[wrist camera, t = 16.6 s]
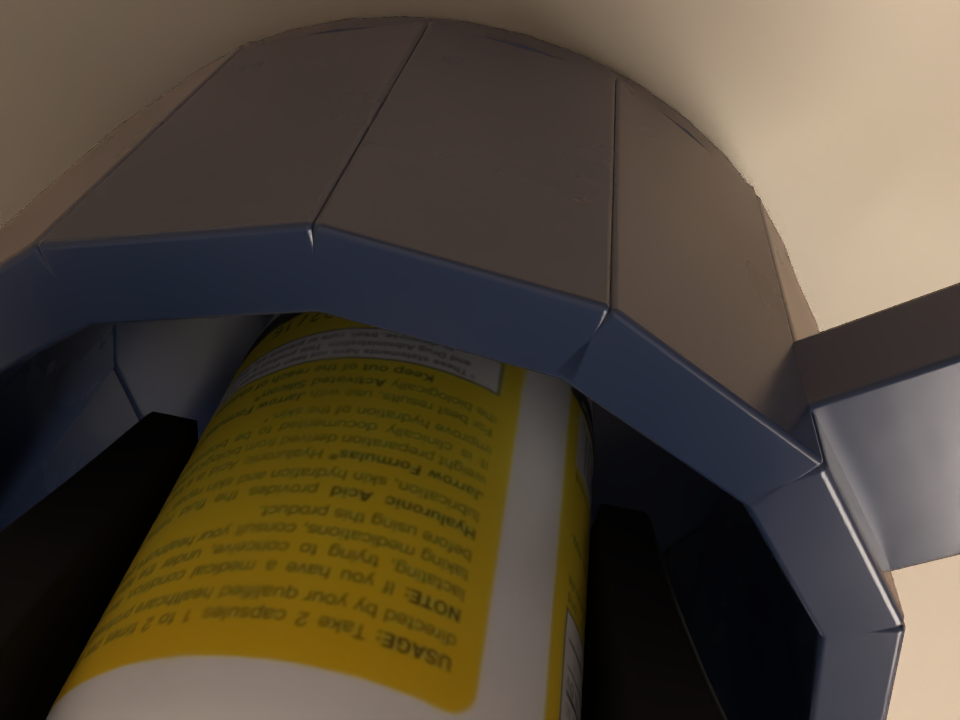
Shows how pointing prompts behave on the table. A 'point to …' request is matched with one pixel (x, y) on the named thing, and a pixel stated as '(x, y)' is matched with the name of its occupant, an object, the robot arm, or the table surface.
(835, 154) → the table surface
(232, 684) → the supplement bottle
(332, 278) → the pot
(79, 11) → the table surface
